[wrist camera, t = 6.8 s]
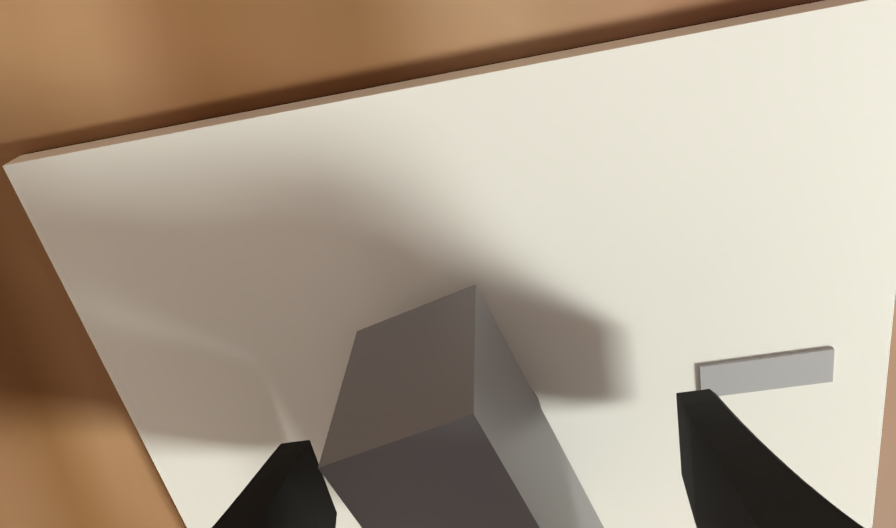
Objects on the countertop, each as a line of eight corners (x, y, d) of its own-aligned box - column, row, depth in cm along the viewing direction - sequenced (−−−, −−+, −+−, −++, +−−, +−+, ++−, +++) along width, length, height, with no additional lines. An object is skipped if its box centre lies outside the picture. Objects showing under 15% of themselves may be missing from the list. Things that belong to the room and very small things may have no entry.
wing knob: (604, 507, 16) (646, 717, 12) (507, 536, 17) (516, 747, 13) (476, 258, 13) (474, 421, 9) (365, 303, 14) (316, 476, 10)
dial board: (905, -16, 12) (929, -10, 11) (854, 568, 18) (867, 592, 17) (21, 155, 14) (-2, 167, 13) (253, 625, 20) (245, 648, 19)
